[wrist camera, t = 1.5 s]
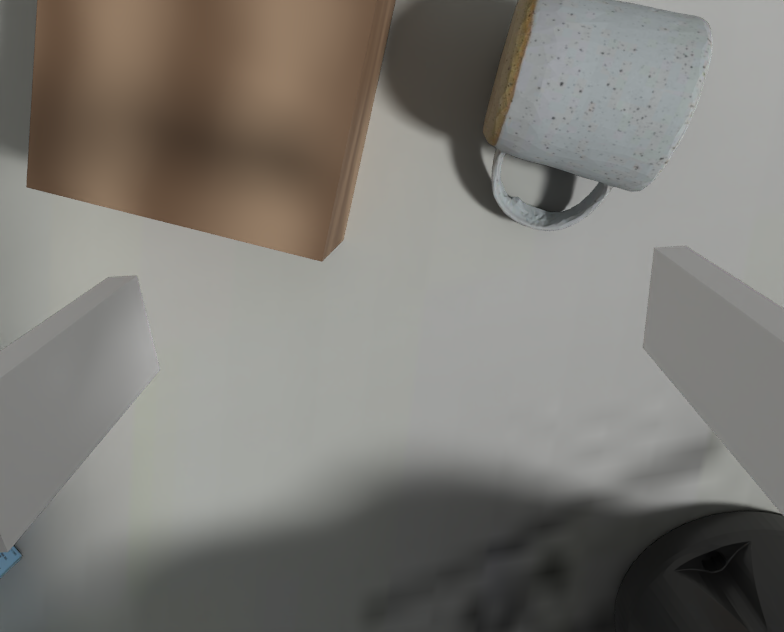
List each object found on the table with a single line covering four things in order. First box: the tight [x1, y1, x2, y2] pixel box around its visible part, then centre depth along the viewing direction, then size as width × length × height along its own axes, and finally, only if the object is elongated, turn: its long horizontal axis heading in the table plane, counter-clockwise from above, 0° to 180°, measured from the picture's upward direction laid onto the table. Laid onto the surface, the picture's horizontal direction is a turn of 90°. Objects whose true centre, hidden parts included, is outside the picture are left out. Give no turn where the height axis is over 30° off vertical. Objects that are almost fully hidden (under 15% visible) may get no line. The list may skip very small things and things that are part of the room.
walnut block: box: [26, 0, 396, 261], centre depth 28 cm, size 14×14×7 cm
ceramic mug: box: [483, 0, 713, 231], centre depth 27 cm, size 11×8×8 cm
